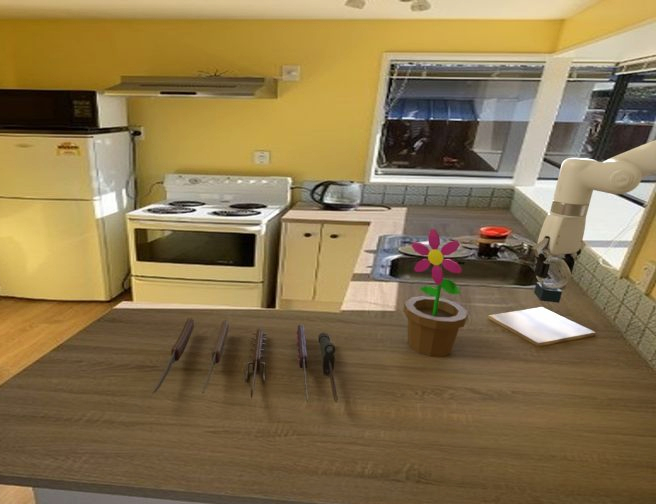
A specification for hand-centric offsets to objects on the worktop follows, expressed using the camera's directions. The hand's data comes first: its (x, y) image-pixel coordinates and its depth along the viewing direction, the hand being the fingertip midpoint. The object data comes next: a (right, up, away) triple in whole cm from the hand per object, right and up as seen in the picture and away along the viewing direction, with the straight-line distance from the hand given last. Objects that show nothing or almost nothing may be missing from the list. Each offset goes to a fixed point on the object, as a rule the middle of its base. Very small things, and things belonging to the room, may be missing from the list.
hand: (552, 274), depth 111 cm
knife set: (-77, -21, -19) cm, 82 cm away
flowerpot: (-34, -17, -6) cm, 39 cm away
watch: (0, -6, +2) cm, 7 cm away
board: (0, -14, +5) cm, 15 cm away
